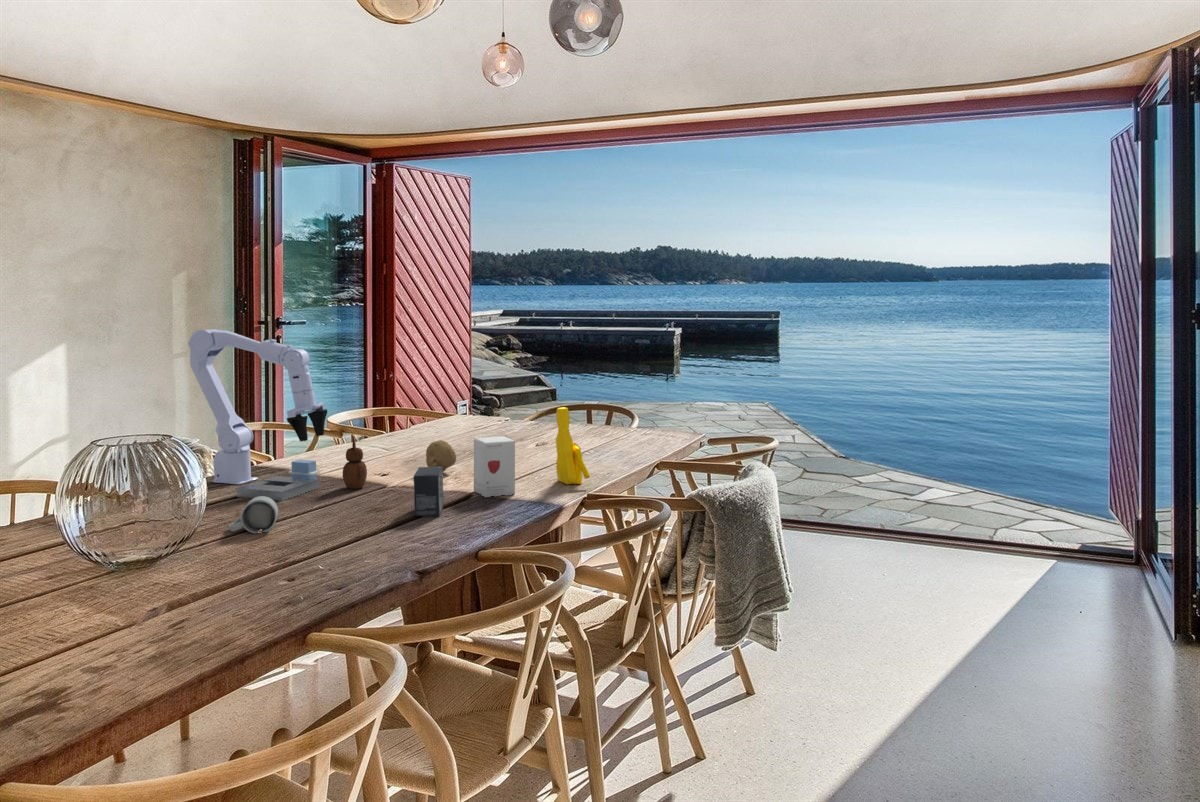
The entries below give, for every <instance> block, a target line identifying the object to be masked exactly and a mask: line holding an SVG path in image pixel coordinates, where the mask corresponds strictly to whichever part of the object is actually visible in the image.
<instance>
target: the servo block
mask: <svg viewBox="0 0 1200 802" xmlns="http://www.w3.org/2000/svg"><path fill="white" fill-rule="evenodd" d="M320 472H321V471H320V470H317V461H316V460H311V459H309V460H308V459H297V460H294V461H291V470H289V471H288V474H291V477H295V478H307V479H317V475H318V474H320Z"/></svg>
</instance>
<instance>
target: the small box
mask: <svg viewBox="0 0 1200 802" xmlns="http://www.w3.org/2000/svg"><path fill="white" fill-rule="evenodd" d="M413 501H414V502H413V504H414V505H413V508H414V517H415V516H421V517H423V518H424V517H425V518H426V517H427V516H439V517H440V516H441V514H442V513H443V509H444V506H445V503H444V502H445V501H444V472H443V467H428V466H424V467H423V466H419V467H418V468H417V470H416V472H415V473H414V475H413ZM421 517H420V518H421Z"/></svg>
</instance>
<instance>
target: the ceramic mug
mask: <svg viewBox="0 0 1200 802" xmlns="http://www.w3.org/2000/svg"><path fill="white" fill-rule="evenodd" d="M278 515H279V507H278V505H277V503H276V502H275V500H272V499H271V498H269V497H265V496H259V497H255V498H251V499H250V500H249V501H248V502H247V503H246V505H244V506H243V509H242V510H241V512H240V518H238V519H236V520H235V521H233V522H231V523H230V524H229V525H228V529H229V531H230V532H231V533H232V532H236V531H239V530H241V529H243V528H244V529H245V530H246V531H248V532H249V533H252V534H256V533H258V531H259V530H260V529H262V531H259V532H265V533H267V532H269V531H270V530H272V528H273V527H274V526H275V525H276V522H277V519H278Z"/></svg>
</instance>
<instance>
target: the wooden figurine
mask: <svg viewBox="0 0 1200 802" xmlns="http://www.w3.org/2000/svg"><path fill="white" fill-rule="evenodd" d="M355 440H356V439H355V436H354V435H352V446H351V447H349V448H348V449H347V450H346V452H345V459H346V461H347V462H346V463H345V464H344V466H343V467H342V479H343V482H344V485H345V487H346V488H348V489H351V490H358V489H362V488H364V486H365V485H366V480H367V478H368V477H367V475H368V470H367V469H368V468H367V465H366V463H365V462H364V461H363V459H364V451H363V449H362V448H360V447H357V446H356V441H355Z"/></svg>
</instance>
